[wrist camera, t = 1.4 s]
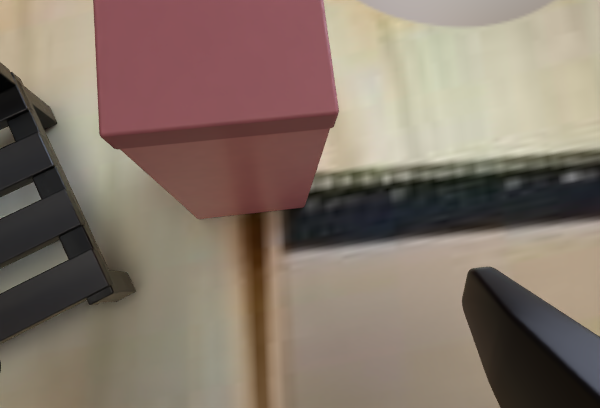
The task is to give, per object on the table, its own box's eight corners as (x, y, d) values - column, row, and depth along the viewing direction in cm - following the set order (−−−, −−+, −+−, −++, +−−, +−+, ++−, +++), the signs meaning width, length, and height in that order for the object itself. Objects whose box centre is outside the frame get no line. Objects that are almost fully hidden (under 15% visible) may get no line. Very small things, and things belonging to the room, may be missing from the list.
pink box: (306, 208, 22) (339, 113, 10) (196, 220, 21) (98, 137, 10) (293, 106, 23) (311, -92, 11) (187, 116, 22) (87, -78, 11)
